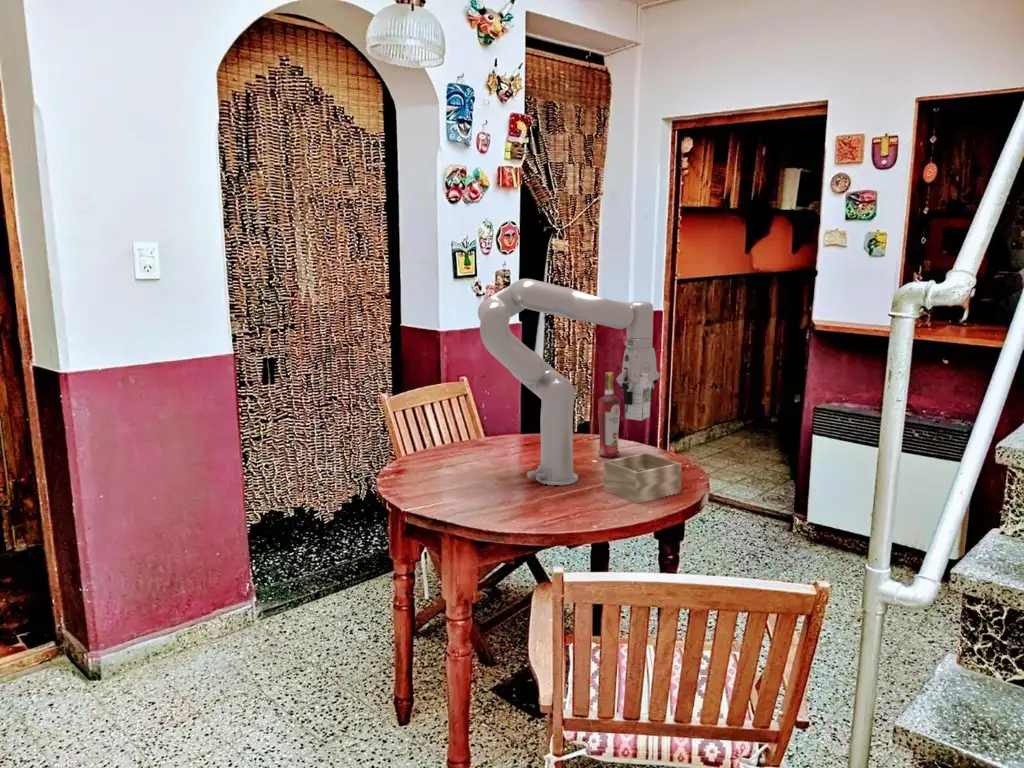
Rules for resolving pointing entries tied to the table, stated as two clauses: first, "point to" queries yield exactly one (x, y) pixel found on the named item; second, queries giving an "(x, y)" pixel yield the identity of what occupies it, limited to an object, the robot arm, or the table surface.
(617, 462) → the box
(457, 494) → the table surface
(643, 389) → the syrup box
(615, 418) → the liquor
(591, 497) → the table surface
